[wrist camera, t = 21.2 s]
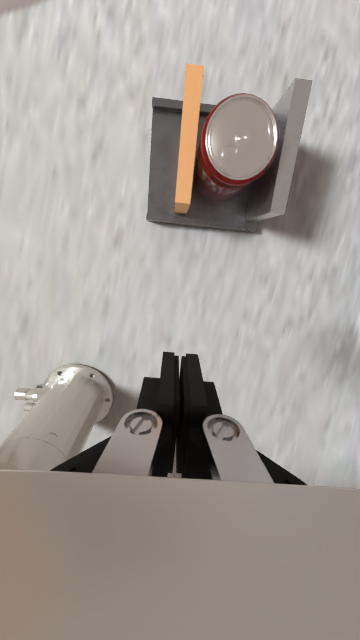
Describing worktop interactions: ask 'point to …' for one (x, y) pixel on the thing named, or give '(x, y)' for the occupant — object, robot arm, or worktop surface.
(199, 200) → the clamp bed
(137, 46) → the worktop surface
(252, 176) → the soda can
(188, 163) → the sliding jaw
